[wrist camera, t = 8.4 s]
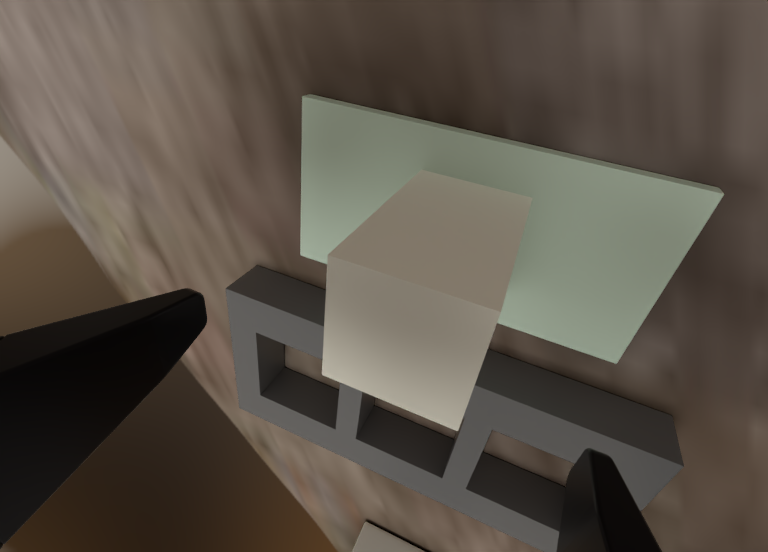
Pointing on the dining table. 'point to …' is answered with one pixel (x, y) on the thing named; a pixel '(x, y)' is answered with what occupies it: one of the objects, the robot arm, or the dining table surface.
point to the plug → (422, 293)
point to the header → (428, 448)
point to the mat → (543, 225)
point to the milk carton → (380, 541)
